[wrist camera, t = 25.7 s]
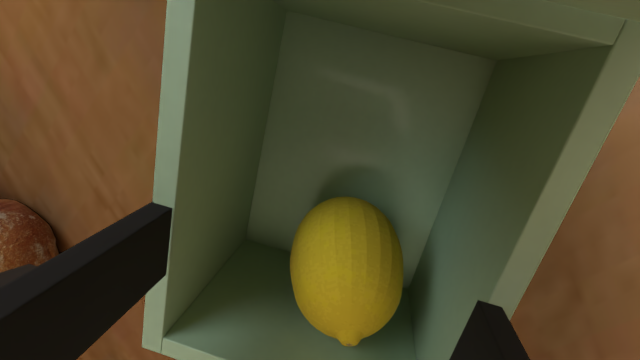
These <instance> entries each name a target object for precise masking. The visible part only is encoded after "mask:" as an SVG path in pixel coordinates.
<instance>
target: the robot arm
mask: <svg viewBox="0 0 640 360" xmlns="http://www.w3.org/2000/svg"><path fill="white" fill-rule="evenodd" d="M172 209H173V208H170V207H167V206H164V205H160V204H157V203H154V202H151V203H149V204H148V205H146V206H144V207H142V208H140V209H139V210H137V211H135V212H133V213H132V214H130V215H128V216H126V217H124V218H123V219H121V220H119V221H117V222H116V223H114V224H112V225H110V226H108V227H107V228H105V229H103V230H101V231H100V232H98V233H96V234H94V235H92V236H91V237H89V238H87V239H85V240H84V241H82V242H80V243H78V244H76V245H75V246H73V247H71V248H69V249H68V250H66V251H64V252H62V253H60V254H59V255H57V256H55V257H53V258H52V259H50V260H48V261H46V262H44V263H43V264H41V265H39V266H35V265H32V264H27V265H23V266H20V267H17V268H14V269H11V270H7V271H4V272H1V273H0V360H76V359H77V358H78V357H79V356H80V355H82V354H83V353H84V352H85V351H86V350H87V349H88V348H89V347H90V346H91V345H92V344H93V343H94V342H95V341H96V340H97V339H99V338H100V337H101V336H102V335H103V334H104V333H105V332H106V331H107V330H108V329H109V328H110V327H111V326H112V325H113V324H114V323H116V322H117V321H118V320H119V319H120V318H121V317H122V316H123V315H124V314H125V313H126V312H127V311H128V310H129V309H130V308H131V307H132V306H134V305H135V304H136V303H137V302H138V301H139V300H140V299H141V298H142V297H143V296H144V295H145V294H146V293H147V292H148V291H149V290H151V289H152V288H153V287H154V286H155V285H156V284H157V283H158V282H159V281H160V280H161V279H162V278H163V277H164V276H165V275H166V271H167V261H168V250H169V240H170V229H171V219H172ZM449 360H530V359H529V357H528V355H527V353H526V351H525V349H524V347H523V345H522V344H521V342H520V340H519V338H518V336H517V334H516V332H515V330H514V328H513V327H512V325H511V323H510V321H509V319H508V317H507V315H506V313H505V311H504V310H503V308H502V307H500V306H497V305H493V304H490V303H487V302H483V301H480V300H478V301H477V303H476V305H475V307H474V309H473V311H472V313H471V315H470V317H469V319H468V321H467V324H466V326H465V328H464V330H463V332H462V334H461V336H460V338H459V340H458V342H457V344H456V346H455V349H454V351H453V353H452V355H451V357H450V359H449Z"/></svg>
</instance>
